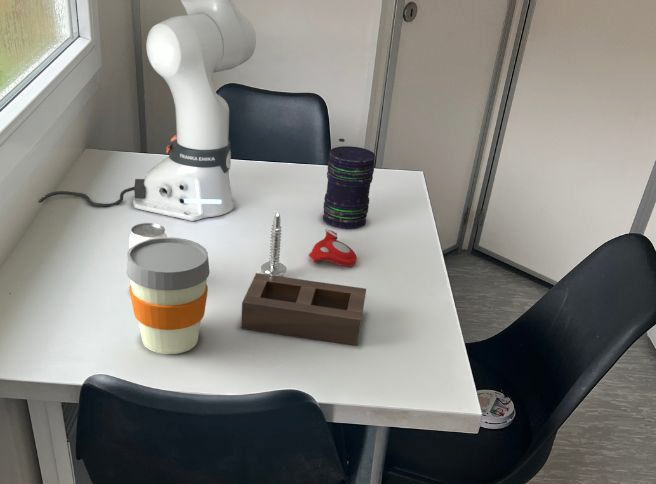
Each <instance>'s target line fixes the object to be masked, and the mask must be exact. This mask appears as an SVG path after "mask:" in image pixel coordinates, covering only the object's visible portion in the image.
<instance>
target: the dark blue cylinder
mask: <svg viewBox="0 0 656 484" xmlns="http://www.w3.org/2000/svg"><path fill="white" fill-rule="evenodd" d="M345 141H346V139H344V138H339V139H338V142H341V143H343V142H345ZM375 160H376V154H375V153H374V151H372V150H370V149H367V148H364V147H359V146H350V145H349V146H347V145H345V146H343V145H341V146H335V147H333V148H331V149H330V150H329V157H328V163H327V172H326V178H327V184H326V185H327V186H326V193H325V195H324V198H323V215H322V221H323V222H324V223H325V224H326V225H328V226H330V227H331V228H334V229H339V230H357V229H361V228H363V227H365V226H366V224H367V218H368V213H369V208H370V207H369V205H370V197H369V196H370V189H371V183H373V179H374V171H375V162H376V161H375Z"/></svg>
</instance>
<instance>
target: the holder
mask: <svg viewBox="0 0 656 484" xmlns="http://www.w3.org/2000/svg"><path fill="white" fill-rule="evenodd" d="M366 295H367V288H366V287H365V288H364V287H358V286H351V285H344V284H336V283H329V282H322V281H315V280H309V279H301V278H294V277H288V276H282V275H281V276H274V275H267V274H265V273H260V272H259V273H258V272H255V275H254V276H253V279H252V281H251V282H250V285H249V286H248V289H247V291H246V294H245V295H244V298H243V299H242V302H241V318H240V319H241V320H240V321H241V322H240V328H241V329H243V330H250V331H256V332H257V331H258V332H261V333H271V334H276V335H281V336H282V335H284V336H289V337H296V338H303V339H309V340H315V341H322V342H330V343H336V344H343V345H349V346H355V347H356V346H358V342H359V337H360V331H361V326H362V321H363V316H364V308H365V302H366Z"/></svg>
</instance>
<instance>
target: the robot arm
mask: <svg viewBox="0 0 656 484" xmlns="http://www.w3.org/2000/svg"><path fill="white" fill-rule="evenodd" d="M179 1H180V2H181V4H182V6H183V8H184V9H185V11H186V14H185V15H178V16H177V15H176V16H172V17H169V18H167V19H165V20H163V21H161V22H159V23H157V24H155V25H153V26H152V27H151V28H150V30H149V32H148V33H147V38H146V44H145V47H146V49H145V50H146V54H147V55H146V56H147V59H148V62H149V64H150V65H151V67H152V69H153V70H154V71H155V72H156V73H157V74H158V75H159V76H160V77H161V78H162V79H163V80H164V81H165V82H166V83H167V85H168V87H169V90H170V92H171V95H172V98H173V102H174V107H175V108H174V109H175V123H176V124H175V125H176V134H174V135H173V137H171V138H170V142H169V143H168V144H167V147H166V148H165V149H166V154H168V156H167V157H165V158H164V159H163V160H162V161H160V162H159V163H157V164H156V165H154V167H152V168H151V169H150V170H149V171H148V172H147V174H146V175H145V177H144V178H135V179H134V185H133V186H132V187H128V188H125V189H124V190H122V191H121V192H120V194H119V199H118V200H117V201H115V202H111V203H101V202H94V201H92V200H91V199H90V197H89V196H88V195H87V194H85V193H82V192H77V191H76V192H75V191H68V190H58V191H57V190H56V191H51V192H49V193H47V194H45V195H44V196H45V197H43V196H42V197H41V198H39V199H38V200H37V203H43V202H44V201H45V200H47V199H48V198H50V197H53V196H57V195H68V196H77V197H82V198H83V199H85V200H86V202H87V203H88V204H89V205H91V206H93V207H100V208H111V207H113V206H117V205H119V204H121V203H122V202H123V200H124V196H125V194H126V193H129V192H133V191H134V192H133V193H134V195H133V198H132V206H133V208H134V209H137V210H141V211H146V212H151V213H154V214H159V215H164V216H167V217H172V218H173V217H174V218H177V219H182V220H186V221H191V222H194V221H195V222H196V221H199V220H202V219H205V218H214V217H219V216H222V215H226V214H228V213H230V212H231V211H233V209H234V208H235V202H234V197H233V194H232V189H231V181H230V169H231V165H232V164H231V162H232V161H231V160H232V151H231V142H230V140H229V138H230V135H229V133H230V106H229V104H228V102H227V101H226V100H225V99H224V98H223V97H222V96H221V95H219V94H217V91H216V89H215V86H214V78H213V77H214V76H213V75H214V74H215V73H219V72H223V71H230V70H232V69H236V67H239V66H241V65H242V64H244V63H246V62H248V61H249V60H250V59H251V58H252V56H253V55H254V52H255V50H256V46H257V45H256V44H257V37H256V31H255V28H254V25H253V23H252V22H251V21H250V19H249V18H248V17H247V16H246V14H245V15H244V13H242V11H240V10H239V8H238V7H237V6H236V4H235V3H234V1H233V0H179Z"/></svg>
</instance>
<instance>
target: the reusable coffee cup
mask: <svg viewBox="0 0 656 484" xmlns="http://www.w3.org/2000/svg"><path fill="white" fill-rule="evenodd" d="M209 261H210V260H209V253H208V251H207V248H205V247H204V246H203V245H201V244H200V243H199V242H196V241H193V240H190V239H186V238H180V237H172V236H171V237H168V236H167V237H164V238H154V239H148V240H145V241H142V242H139V243H137V244H135V245H134V246H132V247H131V248H130V247H129V249H128V251H127V257H126V276H127V278H129V282H130V284H129V287H128V288H129V295H130V301H131V305H132V310H133V316H134V318H135V319H136V321H138V322H137V323H138V326H139V331H140V336H141V342H142V344H143V346H144V347H145V348H147V349H148V350H149V351H151V352H154V353H156V354H160V355H178V354H182V353H185V352H186V353H187V352H188V351H190V350H192V349H193V348H194V347H196V346H197V344H198V341H199V335H200V329H201V328H200V327H201V321H202V319H203V318H204V316H205V312H206V305H207V298H208V292H209V286H208V284H207V279H208V278H209V276H210V271H211V270H210V262H209Z"/></svg>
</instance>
